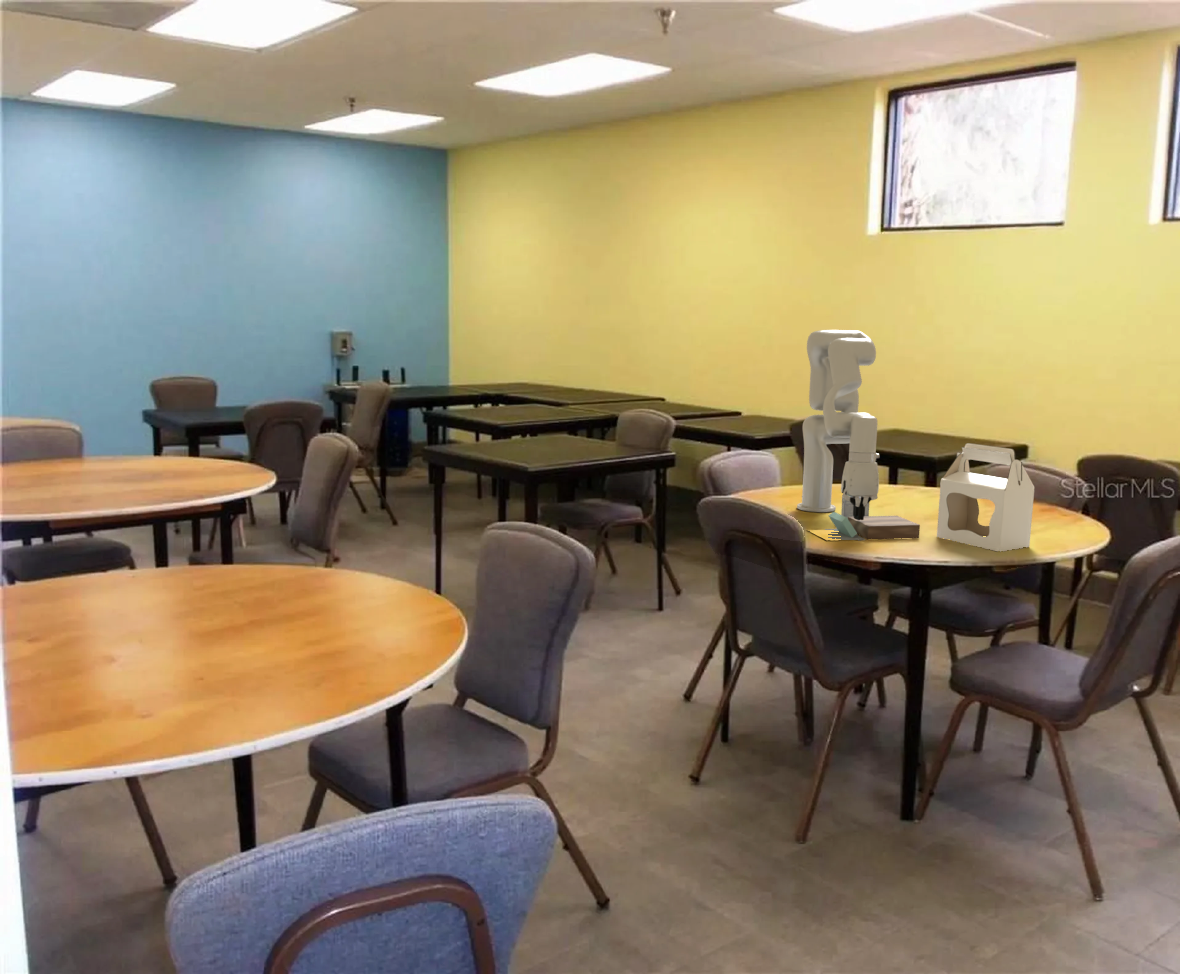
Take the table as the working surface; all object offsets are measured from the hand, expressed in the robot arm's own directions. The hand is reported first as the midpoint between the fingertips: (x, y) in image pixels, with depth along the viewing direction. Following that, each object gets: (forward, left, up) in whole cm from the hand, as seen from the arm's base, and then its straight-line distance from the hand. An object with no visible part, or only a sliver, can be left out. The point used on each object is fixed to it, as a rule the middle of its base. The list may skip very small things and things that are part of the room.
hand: (858, 519), depth 302 cm
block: (0, -4, -1) cm, 4 cm away
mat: (0, -7, -5) cm, 9 cm away
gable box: (+14, +32, -5) cm, 35 cm away
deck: (0, +8, -5) cm, 9 cm away
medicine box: (-17, +7, -5) cm, 19 cm away
